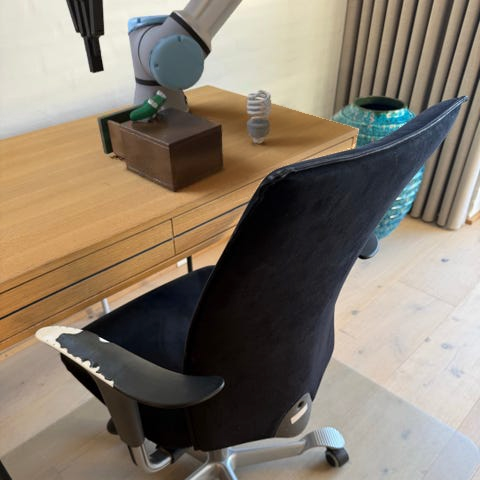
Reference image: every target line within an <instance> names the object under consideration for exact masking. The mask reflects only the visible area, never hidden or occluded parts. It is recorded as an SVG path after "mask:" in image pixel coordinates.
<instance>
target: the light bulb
mask: <svg viewBox="0 0 480 480" xmlns="http://www.w3.org/2000/svg"><path fill="white" fill-rule="evenodd" d="M247 98H248V99H246V103H247V105H246V109H247V110H246V113H247V114H248V115H250V116H252V117H250V119H248V120H247V123H246V127H247V129H246V130H247V134H248V136H250V137H252V141H253V142H254V143H255V144H256V145H260V144H262V143H263V142H264V140H265V138H264V137H268V136H269V135H270V129H271V122H270V121H271V120H269V119H268V117H269V116H270V114H271V111H272V105H271V104H272V99H271V98H272V96H271V94H270V93H269V92H267V91H266V90H260V89H258V90H257V92H256V93H255V92H253V93H248V94H247Z"/></svg>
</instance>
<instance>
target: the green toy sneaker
mask: <svg viewBox="0 0 480 480" xmlns="http://www.w3.org/2000/svg"><path fill="white" fill-rule="evenodd" d="M166 100H167V98H166V96H165V95H164V94H163V93H162V92H161V91H160V90H158V92H157V93H156V95H155V96H154V97H151V98H148V99H146V100H145V101H144V102H143V106H142V107H140V108H138V109H136V110H134V111H133V112H132V113H131V114H130V118H131V121H139V120H143V119H146V118H148V117H149V118H151V117H153V118H154V117H155V116H156V114H155V113H156V112H157V114H158V113H159V112H160V110H159V109H160V107H162V106H163V105H164V103H165V102H166ZM154 114H155V115H154ZM153 118H152V119H153Z"/></svg>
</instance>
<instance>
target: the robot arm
mask: <svg viewBox="0 0 480 480" xmlns="http://www.w3.org/2000/svg"><path fill="white" fill-rule="evenodd" d="M65 2H66V5H67V9H68V11H69V15H70V18H71V21H72V24H73V28H74V31H75V33H76V34H80V37H81V38H82V39H83V44H84V50H85V53H86V54H85V55H86V58H87V63H88V64H87V65H88V68H89V73H91V74H92V73H93V74H96V73H100V72H104V71H105V68H104V67H105V66H104V62H103V55H102V49H101V44H100V38H101V37H102V36H103V37H104V36H105V17H104V0H65ZM242 2H243V0H189V1H188V3H186V5H185V7H184V8H183V9H179V10H172V11H171V13H170V14H160V15H159V14H157V15H156V14H155V15H147V16H146V15H145V16H135V17H131V18H129V19H128V20H127V37H128V40H129V47H130V53H131V60H132V67H133V74H134V75H133V76H134V81H135V89H134V95H133V104H132V107H134V106H137V105H140V104H143V102H144V101H145V100H146V99H148V98H151V97H154V96H155V95H156V93H157V92H158V90H160V91H161V92H162V93H163V94H164V95H165V96H166V98H167V100H166V102H165V103H164V105H163V106H162V107H160V109H159V110H160V111H161V110H164V109H167V108H171V107H173V108H176V109H179V110H182V111H185V112H188V113H190V105H189V102H188V101H189V100H188V99H189V98H188V97H187V95H186V94H185V92H184V91H186V90H189V89H190V88H192V87H194V86H196V84H197V83H198V82H199V81H200V79H201V77H203V74H204V70H205V60H206V59H207V58H208V56H209V55H210V54H211V52H212V41H213V38H215V36H216V35H217V34H218V32H219V31H220V30H221V28H222V27H223V26H224V25H225V23H226V22H228V20H229V18H230V17H231V15H232V14H233V13H234V12H235V11H236V10H237V8H238V7H239V5H240V4H241V3H242Z"/></svg>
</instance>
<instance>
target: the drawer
mask: <svg viewBox="0 0 480 480" xmlns="http://www.w3.org/2000/svg"><path fill="white" fill-rule="evenodd" d="M142 106H143V104H140V105H137V106H134V107H133V106H131V107H127V108H124V109H121V110H118V111H115V112H111V113H108V114H104V115H102V116H99V117H96V121H97V126H98V129H99V134H100V139H101V144H102V149H103V153H104V154H106V155H109V154H112V153H113V154H114V155H116V156H118V157H119V158H122V159H124V160H125V155H124V150H123V144H122V138H121V133H120V127H119V124H121V123H124V122H128V121H131V118H130V114H131V113H132V112H133V111H134V110H136V109H138V108H140V107H142Z"/></svg>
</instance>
